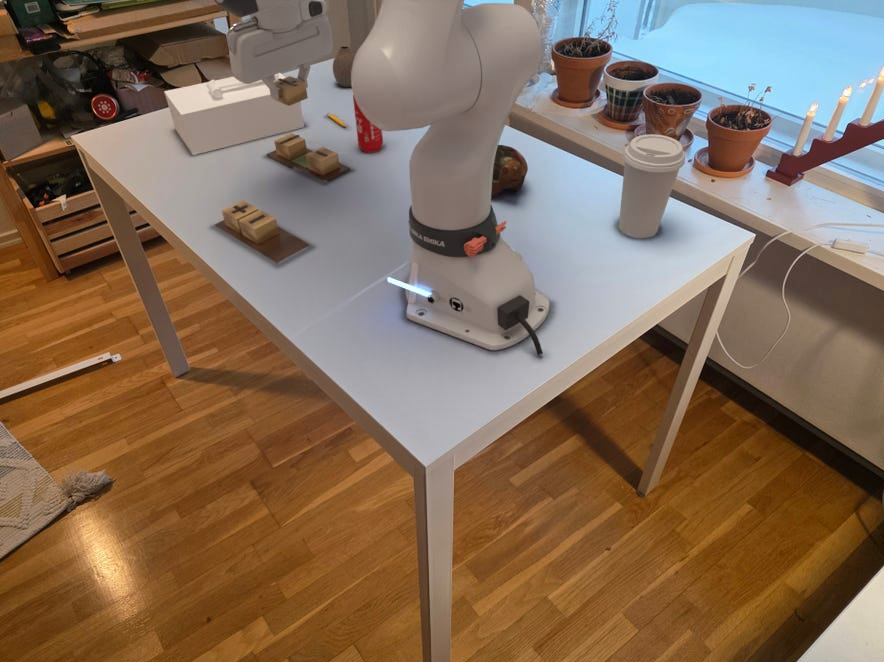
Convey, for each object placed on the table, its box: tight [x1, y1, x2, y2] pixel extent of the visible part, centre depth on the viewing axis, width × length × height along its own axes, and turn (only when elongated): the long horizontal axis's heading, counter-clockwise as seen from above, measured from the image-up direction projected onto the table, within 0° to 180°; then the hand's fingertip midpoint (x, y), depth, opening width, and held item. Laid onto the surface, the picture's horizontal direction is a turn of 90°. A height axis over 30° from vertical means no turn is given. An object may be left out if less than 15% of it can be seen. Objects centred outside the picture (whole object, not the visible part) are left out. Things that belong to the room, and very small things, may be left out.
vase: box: [332, 45, 356, 88], centre depth 159 cm, size 7×7×9 cm
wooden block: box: [273, 75, 308, 106], centre depth 118 cm, size 5×4×3 cm
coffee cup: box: [618, 133, 686, 239], centre depth 106 cm, size 10×10×15 cm
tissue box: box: [163, 72, 305, 156], centre depth 141 cm, size 14×25×11 cm, turn 120°
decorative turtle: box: [491, 144, 529, 199], centre depth 120 cm, size 10×15×8 cm, turn 22°
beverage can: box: [352, 93, 384, 154], centre depth 132 cm, size 5×5×12 cm
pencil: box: [326, 112, 347, 128], centre depth 145 cm, size 1×9×1 cm, turn 34°
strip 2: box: [266, 132, 351, 182], centre depth 131 cm, size 18×7×4 cm, turn 48°
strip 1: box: [214, 199, 311, 264], centre depth 111 cm, size 18×7×4 cm, turn 48°
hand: (290, 93), depth 119 cm, fingers closed on wooden block, 4 cm apart
